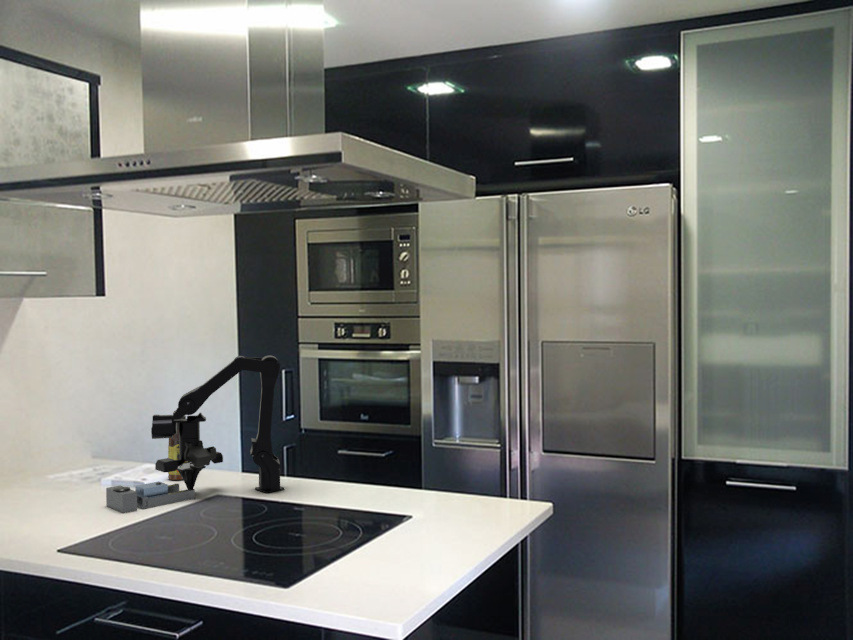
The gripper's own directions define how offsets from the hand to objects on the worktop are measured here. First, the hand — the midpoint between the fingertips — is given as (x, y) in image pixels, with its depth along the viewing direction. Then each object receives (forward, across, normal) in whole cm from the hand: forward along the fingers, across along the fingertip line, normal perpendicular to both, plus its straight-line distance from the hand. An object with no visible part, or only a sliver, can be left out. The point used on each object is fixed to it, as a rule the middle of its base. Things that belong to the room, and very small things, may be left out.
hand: (190, 490), depth 229 cm
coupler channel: (+1, -12, 0) cm, 12 cm away
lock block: (+1, -12, 0) cm, 12 cm away
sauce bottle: (+1, +7, +20) cm, 21 cm away
